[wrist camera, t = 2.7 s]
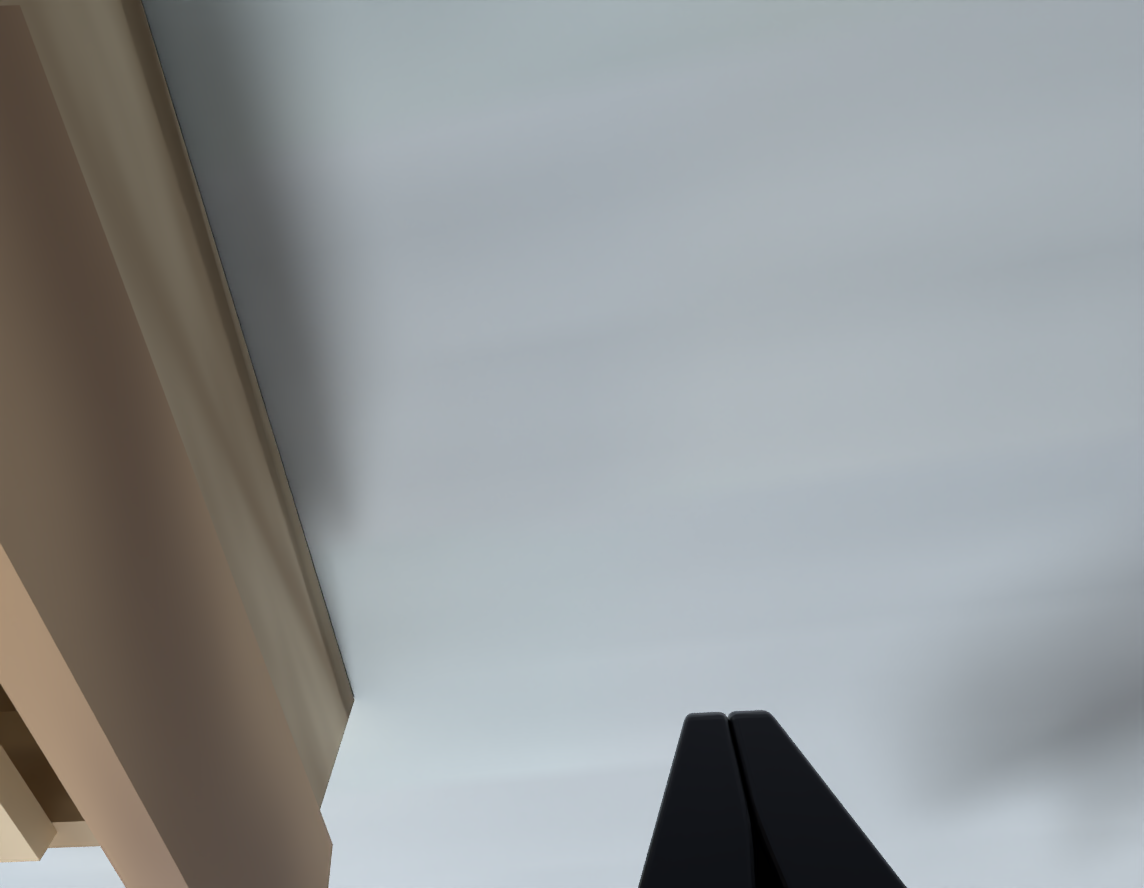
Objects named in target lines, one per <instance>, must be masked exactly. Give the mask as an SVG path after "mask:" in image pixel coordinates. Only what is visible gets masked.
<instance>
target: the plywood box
mask: <svg viewBox="0 0 1144 888" xmlns="http://www.w3.org/2000/svg"><path fill="white" fill-rule="evenodd" d="M4 5H20V7H21V10H22V12H23V15H24V18H25V20H26V23H27V26H28V28H29V31H30V34H31V36H32V39H33V42H34V45H35V47H36V50H37V53H38V55H39V58H40V61H41V63H42V66H43V69H44V71H45V74H46V77H47V79H48V82H49V85H50V87H51V90H52V93H53V96H54V98H55V101H56V104H57V106H58V109H59V112H60V114H61V117H62V120H63V122H64V125H65V128H66V130H67V133H68V136H69V138H70V141H71V144H72V147H73V149H74V152H75V155H76V157H77V160H78V163H79V165H80V168H81V171H82V173H83V176H84V179H85V181H86V184H87V187H88V189H89V192H90V195H91V197H92V200H93V203H94V206H95V208H96V211H97V214H98V216H99V219H100V222H101V224H102V227H103V230H104V232H105V235H106V238H107V240H108V243H109V246H110V248H111V251H112V254H113V257H114V259H115V262H116V265H117V267H118V270H119V273H120V275H121V278H122V281H123V283H124V286H125V289H126V291H127V294H128V297H129V299H130V302H131V305H132V307H133V310H134V313H135V316H136V318H137V321H138V324H139V326H140V329H141V332H142V334H143V337H144V340H145V342H146V345H147V348H148V350H149V353H150V356H151V358H152V361H153V364H154V367H155V369H156V372H157V375H158V377H159V380H160V383H161V385H162V388H163V391H164V393H165V396H166V399H167V401H168V404H169V407H170V409H171V412H172V415H173V418H174V420H175V423H176V426H177V428H178V431H179V434H180V436H181V439H182V442H183V444H184V447H185V450H186V452H187V455H188V458H189V460H190V463H191V466H192V468H193V471H194V474H195V477H196V479H197V482H198V485H199V487H200V490H201V493H202V495H203V498H204V501H205V503H206V506H207V509H208V511H209V514H210V517H211V519H212V522H213V525H214V528H215V530H216V533H217V536H218V538H219V541H220V544H221V546H222V549H223V552H224V554H225V557H226V560H227V562H228V565H229V568H230V570H231V573H232V576H233V578H234V581H235V584H236V587H237V589H238V592H239V595H240V597H241V600H242V603H243V605H244V608H245V611H246V613H247V616H248V619H249V621H250V624H251V627H252V629H253V632H254V635H255V638H256V640H257V643H258V646H259V648H260V651H261V654H262V656H263V659H264V662H265V664H266V667H267V670H268V672H269V675H270V678H271V680H272V683H273V686H274V689H275V691H276V694H277V697H278V699H279V702H280V705H281V707H282V710H283V713H284V715H285V718H286V721H287V723H288V726H289V729H290V731H291V734H292V737H293V739H294V742H295V745H296V748H297V750H298V753H299V756H300V758H301V761H302V764H303V766H304V769H305V772H306V774H307V777H308V780H309V782H310V785H311V788H312V790H313V793H314V796H315V799H316V801H317V804H318V807H319V809H320V808H321V805H322V801H323V798H324V795H325V792H326V789H327V785H328V782H329V779H330V776H331V773H332V769H333V766H334V763H335V760H336V757H337V754H338V750H339V747H340V744H341V741H342V738H343V734H344V731H345V728H346V725H347V722H348V718H349V715H350V712H351V709H352V706H353V702H354V698H353V694H352V691H351V688H350V684H349V681H348V678H347V675H346V671H345V668H344V665H343V661H342V658H341V655H340V652H339V648H338V645H337V642H336V638H335V635H334V632H333V629H332V625H331V622H330V619H329V616H328V612H327V609H326V606H325V602H324V599H323V596H322V593H321V589H320V586H319V583H318V579H317V576H316V573H315V570H314V566H313V563H312V560H311V556H310V553H309V550H308V547H307V543H306V540H305V537H304V533H303V530H302V527H301V524H300V520H299V517H298V514H297V510H296V507H295V504H294V501H293V497H292V494H291V491H290V487H289V484H288V481H287V478H286V474H285V471H284V468H283V465H282V461H281V458H280V455H279V451H278V448H277V445H276V442H275V438H274V435H273V432H272V428H271V425H270V422H269V419H268V415H267V412H266V409H265V405H264V402H263V399H262V396H261V392H260V389H259V386H258V382H257V379H256V376H255V373H254V369H253V366H252V363H251V359H250V356H249V353H248V350H247V346H246V343H245V340H244V336H243V333H242V330H241V327H240V323H239V320H238V317H237V313H236V310H235V307H234V304H233V300H232V297H231V294H230V291H229V287H228V284H227V281H226V277H225V274H224V271H223V268H222V264H221V261H220V258H219V254H218V251H217V248H216V245H215V241H214V238H213V235H212V231H211V228H210V225H209V222H208V218H207V215H206V212H205V208H204V205H203V202H202V199H201V195H200V192H199V189H198V185H197V182H196V179H195V176H194V172H193V169H192V166H191V162H190V159H189V156H188V153H187V149H186V146H185V143H184V140H183V136H182V133H181V130H180V126H179V123H178V120H177V117H176V113H175V110H174V107H173V103H172V100H171V97H170V94H169V90H168V87H167V84H166V80H165V77H164V74H163V71H162V67H161V64H160V61H159V57H158V54H157V51H156V48H155V44H154V41H153V38H152V34H151V31H150V28H149V25H148V21H147V18H146V15H145V11H144V8H143V5H142V2H141V0H0V6H4ZM86 846H100V845H99V843H98V841H97V840H96V838H95V837H94V835H93V833H92V832H91V830H90V828H89V827H88V825H87V824H86V822H85V820H84V819H83V817H82V815H81V814H80V812H79V811H78V809H77V807H76V806H75V804H74V802H73V801H72V799H71V798H70V796H69V794H68V793H67V791H66V789H65V788H64V786H63V784H62V783H61V781H60V780H59V778H58V776H57V775H56V773H55V771H54V770H53V768H52V767H51V765H50V763H49V762H48V760H47V758H46V757H45V755H44V754H43V752H42V750H41V749H40V747H39V745H38V744H37V742H36V741H35V739H34V737H33V736H32V734H31V732H30V731H29V729H28V728H27V726H26V724H25V723H24V721H23V719H22V718H21V716H20V715H19V713H18V711H17V710H16V708H15V706H14V705H13V703H12V702H11V700H10V698H9V697H8V695H7V693H6V692H5V690H4V688H3V687H2V685H1V684H0V862H23V861H40V860H41V858H42V856H43V855H44V853H45V852H46V850H47V848H60V847H86Z"/></svg>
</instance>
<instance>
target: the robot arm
mask: <svg viewBox="0 0 1144 888" xmlns="http://www.w3.org/2000/svg"><path fill="white" fill-rule="evenodd" d="M638 888H907V887H906V886H905V885H904V884H903V882H902V881H901V880H900V878H899V877H898V876H897V875H896V873H895V872H894V871H893V869H892V868H891V867H890V866H889V864H888V863H887V862H886V860H885V859H884V858H883V857H882V855H881V854H880V853H879V851H878V850H877V849H876V848H875V846H874V845H873V844H872V842H871V841H870V840H869V839H868V837H867V836H866V835H865V833H864V832H863V831H862V830H861V828H860V827H859V826H858V824H857V823H856V822H855V821H854V819H853V818H852V817H851V815H850V814H849V813H848V812H847V810H846V809H845V808H844V806H843V805H842V804H841V803H840V801H839V800H838V799H837V797H836V796H835V795H834V794H833V792H832V791H831V790H830V788H829V787H828V786H827V785H826V783H825V782H824V781H823V779H822V778H821V777H820V776H819V774H818V773H817V772H816V770H815V769H814V768H813V767H812V765H811V764H810V763H809V761H808V760H807V759H806V758H805V756H804V755H803V754H802V752H801V751H800V750H799V749H798V747H797V746H796V745H795V743H794V742H793V741H792V740H791V738H790V737H789V736H788V734H787V733H786V732H785V731H784V729H783V728H782V727H781V725H780V724H779V723H778V722H777V720H776V719H775V718H774V717H773V716H772V715H771V714H770V713H769V712H767V711H763V710H755V711H734V712H732V713H730V714H729V716H728V718H727V716H726V715H725V714H724V713H721V712H707V713H691V714H689V715H687V716H686V718H685V720H684V723H683V727H682V730H681V734H680V738H679V741H678V745H677V749H676V752H675V756H674V759H673V763H672V767H671V770H670V774H669V778H668V781H667V785H666V788H665V792H664V796H663V799H662V803H661V807H660V810H659V814H658V817H657V821H656V825H655V828H654V832H653V836H652V839H651V843H650V846H649V850H648V854H647V857H646V861H645V865H644V868H643V872H642V875H641V879H640V883H639V886H638Z"/></svg>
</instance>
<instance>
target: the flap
mask: <svg viewBox="0 0 1144 888" xmlns="http://www.w3.org/2000/svg"><path fill="white" fill-rule="evenodd" d="M0 684H1V685H2V687H3V688H4V690H5V692H6V693H7V695H8V697H9V698H10V700H11V702H12V703H13V705H14V706H15V708H16V710H17V711H18V713H19V715H20V716H21V718H22V719H23V721H24V723H25V724H26V726H27V728H28V729H29V731H30V732H31V734H32V736H33V737H34V739H35V741H36V742H37V744H38V745H39V747H40V749H41V750H42V752H43V754H44V755H45V757H46V758H47V760H48V762H49V763H50V765H51V767H52V768H53V770H54V771H55V773H56V775H57V776H58V778H59V780H60V781H61V783H62V784H63V786H64V788H65V789H66V791H67V793H68V794H69V796H70V798H71V799H72V801H73V802H74V804H75V806H76V807H77V809H78V811H79V812H80V814H81V815H82V817H83V819H84V820H85V822H86V824H87V825H88V827H89V828H90V830H91V832H92V833H93V835H94V837H95V838H96V840H97V841H98V843H99V845H100V846H101V848H102V850H103V851H104V853H105V854H106V856H107V858H108V859H109V861H110V863H111V864H112V866H113V867H114V869H115V871H116V872H117V874H118V876H119V877H120V879H121V880H122V882H123V884H124V885H125V887H126V888H328V884H329V875H330V865H331V855H332V845H333V844H332V841H331V839H330V836H329V833H328V831H327V828H326V825H325V823H324V820H323V817H322V815H321V812H320V809H319V807H318V804H317V801H316V799H315V796H314V793H313V790H312V788H311V785H310V782H309V780H308V777H307V774H306V772H305V769H304V766H303V764H302V761H301V758H300V756H299V753H298V750H297V748H296V745H295V742H294V739H293V737H292V734H291V731H290V729H289V726H288V723H287V721H286V718H285V715H284V713H283V710H282V707H281V705H280V702H279V699H278V697H277V694H276V691H275V689H274V686H273V683H272V680H271V678H270V675H269V672H268V670H267V667H266V664H265V662H264V659H263V656H262V654H261V651H260V648H259V646H258V643H257V640H256V638H255V635H254V632H253V629H252V627H251V624H250V621H249V619H248V616H247V613H246V611H245V608H244V605H243V603H242V600H241V597H240V595H239V592H238V589H237V587H236V584H235V581H234V578H233V576H232V573H231V570H230V568H229V565H228V562H227V560H226V557H225V554H224V552H223V549H222V546H221V544H220V541H219V538H218V536H217V533H216V530H215V528H214V525H213V522H212V519H211V517H210V514H209V511H208V509H207V506H206V503H205V501H204V498H203V495H202V493H201V490H200V487H199V485H198V482H197V479H196V477H195V474H194V471H193V468H192V466H191V463H190V460H189V458H188V455H187V452H186V450H185V447H184V444H183V442H182V439H181V436H180V434H179V431H178V428H177V426H176V423H175V420H174V418H173V415H172V412H171V409H170V407H169V404H168V401H167V399H166V396H165V393H164V391H163V388H162V385H161V383H160V380H159V377H158V375H157V372H156V369H155V367H154V364H153V361H152V358H151V356H150V353H149V350H148V348H147V345H146V342H145V340H144V337H143V334H142V332H141V329H140V326H139V324H138V321H137V318H136V316H135V313H134V310H133V307H132V305H131V302H130V299H129V297H128V294H127V291H126V289H125V286H124V283H123V281H122V278H121V275H120V273H119V270H118V267H117V265H116V262H115V259H114V257H113V254H112V251H111V248H110V246H109V243H108V240H107V238H106V235H105V232H104V230H103V227H102V224H101V222H100V219H99V216H98V214H97V211H96V208H95V206H94V203H93V200H92V197H91V195H90V192H89V189H88V187H87V184H86V181H85V179H84V176H83V173H82V171H81V168H80V165H79V163H78V160H77V157H76V155H75V152H74V149H73V147H72V144H71V141H70V138H69V136H68V133H67V130H66V128H65V125H64V122H63V120H62V117H61V114H60V112H59V109H58V106H57V104H56V101H55V98H54V96H53V93H52V90H51V87H50V85H49V82H48V79H47V77H46V74H45V71H44V69H43V66H42V63H41V61H40V58H39V55H38V53H37V50H36V47H35V45H34V42H33V39H32V36H31V34H30V31H29V28H28V26H27V23H26V20H25V18H24V15H23V12H22V10H21V7H20V5H4V6H0Z"/></svg>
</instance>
